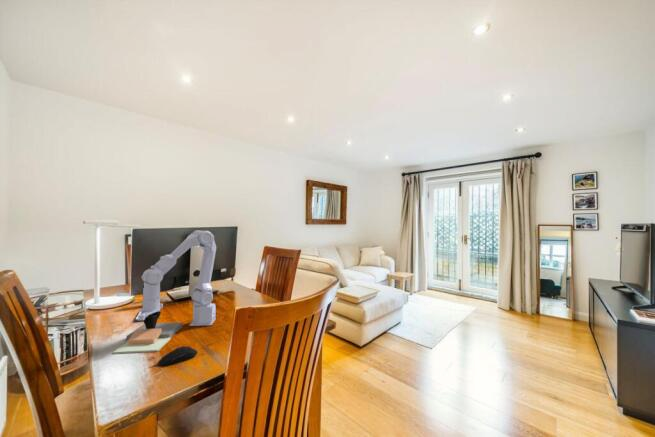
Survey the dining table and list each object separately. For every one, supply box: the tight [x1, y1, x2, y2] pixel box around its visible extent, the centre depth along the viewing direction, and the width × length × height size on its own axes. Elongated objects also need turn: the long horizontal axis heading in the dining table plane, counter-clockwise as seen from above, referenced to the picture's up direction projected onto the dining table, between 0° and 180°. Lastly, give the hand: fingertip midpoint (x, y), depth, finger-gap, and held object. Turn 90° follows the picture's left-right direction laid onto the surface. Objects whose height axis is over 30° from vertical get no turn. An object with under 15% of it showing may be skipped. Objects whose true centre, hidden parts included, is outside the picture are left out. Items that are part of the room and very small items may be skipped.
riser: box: [126, 322, 183, 342], centre depth 107 cm, size 16×12×2 cm
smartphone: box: [134, 310, 160, 323], centre depth 127 cm, size 9×2×16 cm
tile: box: [127, 328, 162, 344], centre depth 99 cm, size 9×6×2 cm, turn 98°
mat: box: [112, 337, 172, 355], centre depth 96 cm, size 15×10×1 cm, turn 98°
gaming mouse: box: [148, 345, 198, 369], centre depth 87 cm, size 6×15×4 cm, turn 132°
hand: (150, 331), depth 103 cm, fingers closed
